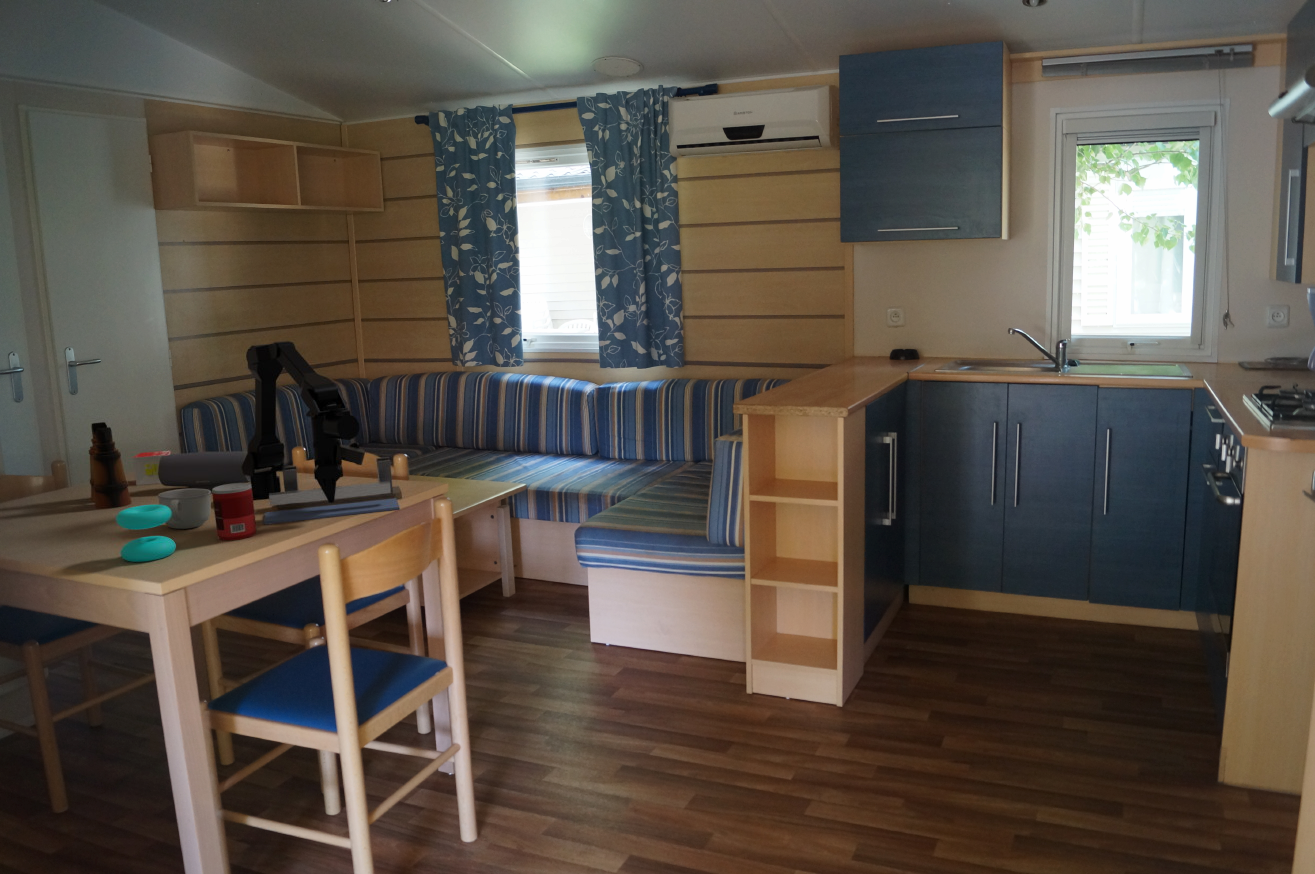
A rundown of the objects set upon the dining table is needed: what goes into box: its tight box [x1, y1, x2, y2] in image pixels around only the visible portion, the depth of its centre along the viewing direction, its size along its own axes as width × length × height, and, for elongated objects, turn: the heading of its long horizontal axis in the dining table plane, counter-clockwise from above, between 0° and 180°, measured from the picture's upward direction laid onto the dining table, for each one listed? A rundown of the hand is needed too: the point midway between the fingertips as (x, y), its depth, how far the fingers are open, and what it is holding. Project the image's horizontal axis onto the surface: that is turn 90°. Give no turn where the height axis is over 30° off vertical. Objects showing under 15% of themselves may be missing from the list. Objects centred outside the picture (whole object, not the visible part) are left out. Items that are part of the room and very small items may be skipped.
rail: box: [268, 481, 391, 507], centre depth 231 cm, size 27×2×2 cm, turn 109°
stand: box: [276, 456, 403, 511], centre depth 242 cm, size 29×8×10 cm, turn 109°
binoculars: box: [88, 421, 132, 510], centre depth 251 cm, size 18×8×20 cm, turn 35°
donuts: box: [115, 503, 177, 563], centre depth 199 cm, size 10×10×10 cm
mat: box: [263, 498, 401, 525], centre depth 232 cm, size 30×10×1 cm, turn 109°
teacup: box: [157, 488, 212, 530], centre depth 222 cm, size 14×11×8 cm
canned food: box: [211, 482, 257, 542], centre depth 212 cm, size 8×8×11 cm
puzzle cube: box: [132, 450, 172, 486], centre depth 277 cm, size 8×8×8 cm
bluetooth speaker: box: [158, 450, 251, 490], centre depth 264 cm, size 23×9×10 cm, turn 92°
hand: (331, 501), depth 231 cm, fingers closed on rail, 2 cm apart
